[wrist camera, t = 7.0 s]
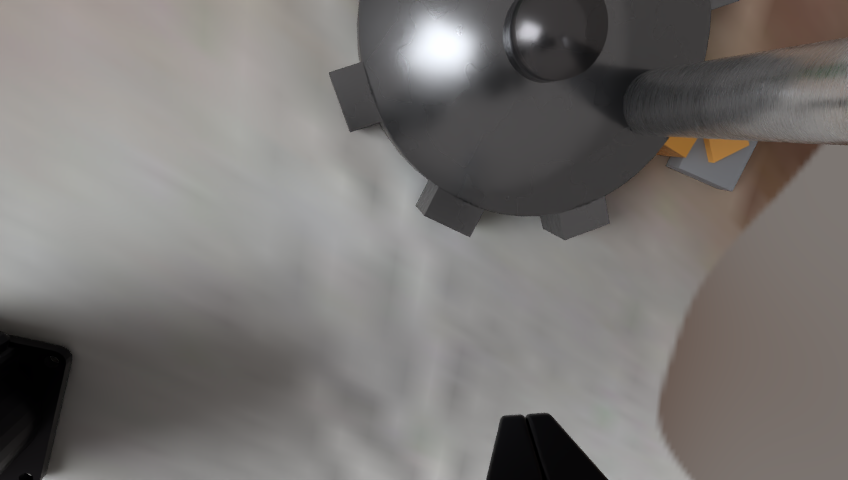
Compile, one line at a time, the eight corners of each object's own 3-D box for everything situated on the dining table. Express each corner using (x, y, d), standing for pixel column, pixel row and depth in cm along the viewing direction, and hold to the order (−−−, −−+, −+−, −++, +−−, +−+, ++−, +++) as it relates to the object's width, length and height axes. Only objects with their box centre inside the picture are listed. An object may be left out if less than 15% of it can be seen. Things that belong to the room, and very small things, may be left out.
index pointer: (718, 188, 21) (737, 192, 20) (665, 166, 20) (683, 168, 19) (759, 107, 20) (782, 106, 19) (706, 79, 19) (727, 77, 18)
